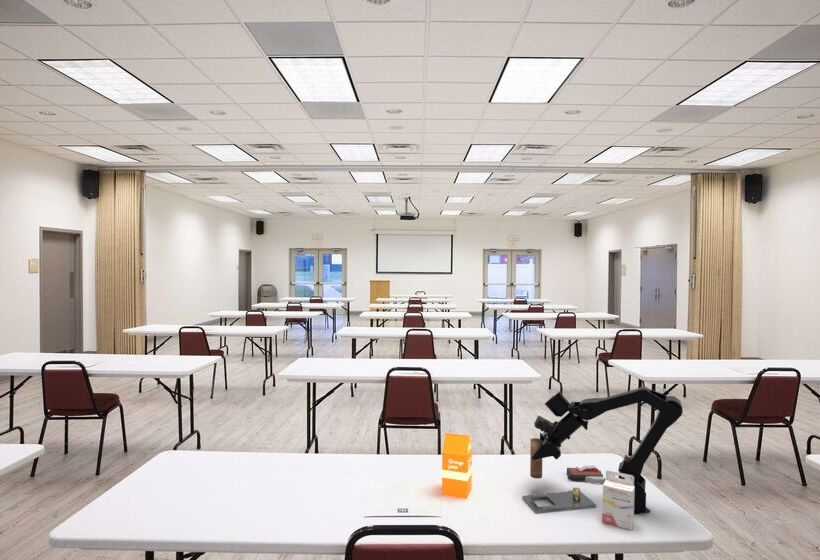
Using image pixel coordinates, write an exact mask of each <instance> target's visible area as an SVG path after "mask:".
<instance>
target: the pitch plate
mask: <svg viewBox="0 0 820 560" xmlns="http://www.w3.org/2000/svg"><path fill="white" fill-rule="evenodd" d="M521 499H522V500H523V501H524V503H525V504H526V505H527V506H528V507H529V508H530V509H531V510H532V511H533V512H534V513H535V514H543V513H553V512H555V513H556V512H564V511H574V510H582V509H583V510H584V509H591V508H592V509H593V508H597V504H596V503H595V502H594V501H592V499H590V498H589V497H588V496H587V495H586V494H584V493H583V492H582V491H581V489H580V488H579V487H572V490H569V491H560V492H558V491H557V492H549V493H548V492H547V493H538V494H528V495H522V496H521ZM544 500H545V501H546V500H547V501H548V502H549V503H550V504H551V505H544V506H543V505H542V506H539V505H538V504H537V503H536V502H535V501H544Z"/></svg>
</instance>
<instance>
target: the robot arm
mask: <svg viewBox="0 0 820 560" xmlns="http://www.w3.org/2000/svg"><path fill="white" fill-rule="evenodd" d="M642 402H643V403H646V404H647V405H649V406H650V407H652V408H654V409H655V410H657V414H656V416H655V420H654V421H653V423H652V424H651V426H650V428H649V429H648V430H647V432H646V434H645V435H644V436H643V439H642V440H641V442H640V443H639V444H638V446H637V448H636V449H635V451H634V452H633V454H632V455H630V456H628V455H627V454H625V455H624V456H623V457H624V458H623V460H622V461H621V462H620V463H619V465H618V471H617V472H619V473H623V474H627V475H632V476H634V486H635V493H634V515H635V514H642V513H643V514H644V513H651V509H649V508H648V507H647V492H646V483H647V482H646V481H647V480H646V479H645V477H644V476H643V475H642V472H643V469H644V465H645V464H646V462H647V461H648V459H649V457H650V456H651V454H652V453H653V451H654V449H656V446H657V445H658V443H659V442H660V440H661V439H662V437H663V435H664V434H665V433H666V430H667V429H668V428H670V427H671V426H672V425H674V424H675V423H676V422H677V421H678V420H679V419H680V418H681V417H682V416H683V410H684V409H683V405H682V402H681V400H680V398H677V396H674V395H666V394H663V393H661V392H658V391H655V390H653V389H650V388H648V387H647V386H640V387H638V388H635V389H632V390H628V391H624V392H621V393H617V394H614V395H610V396H607V397H592V398H591V397H590V398H585V399H582V400H581V401H571V402H570V401H569V400H567V398H566V397H565V396H564V395H563V393H562V391H558V392H557V393H555V394H554V395H552V396H551V397H550V398H549V399H547V401H545V403H544V405H545V407H547V409H548V410H549V411H550V412H551V413H552V414H553V416H555V417H558V418H561V419H560V420H559V421H558V420H555V421H554V422H552V421H550V420H549V419H546V418H545V417H542V416H541V415H537V417H536V419H535V421H534V423H533V424H534V428H536V429H537V430H540V431H541V432H542V433H541V432H539V439H541V446H540V448H539V449H538V450H537V451H536V452H535V454H534V455H533V456H532V459H533V460H537V459H541V458H542V459H546V458H549V457H553V459H555V460H558V459H559V458H560V457H561V456H562V452H561V451H562V450H561V447H562V444H563V443H564V442H565V441H566V440H568V441H570V439H571V436H572V435H573V434H574V433H575V432H577V431H578V430H579V428H581V427H583V428H584V429H585V431H587V430H589V429H588V425H589V421H590V420H593V419H595V418H597V417H600V416H601V415H603V414H605V413H607V412H608V411H612V410H616V409H620V408H623V407H628V406H631V405H634V404H635V405H636V404H638V403H642ZM542 440H543V441H542ZM618 478H620V479H625V478H624V477H621V476H618Z"/></svg>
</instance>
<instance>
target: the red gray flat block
mask: <svg viewBox="0 0 820 560" xmlns="http://www.w3.org/2000/svg"><path fill="white" fill-rule="evenodd" d="M566 475H567V480H570V481H572V482H585V483H588V482H590V483H589V484H591V483H600V484H599V485H603V484H604V482H605V480H606V478H604V474H603V473H602V470H599V468H597V466H595V465H583V466H582V467H579V466H575V467H566Z"/></svg>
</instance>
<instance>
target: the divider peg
mask: <svg viewBox="0 0 820 560" xmlns="http://www.w3.org/2000/svg"><path fill="white" fill-rule="evenodd" d="M542 441H543V440H542ZM540 446H541V439H540V438H537V437H534V438H533V437H532V438H530V451H529V452H530V454H529V455H530V457H529V458H530V461H529V462H530V467H529V468H530V470H529V472H530V473H529V474H530V475H529V476H530V477H531V478H532V479H538V480H539V479H542V478H543V458H541V459H537V460H533V459H532V456H533V455H534V454H535V452H536V451H537V450H538V449H539V448H540Z"/></svg>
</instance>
